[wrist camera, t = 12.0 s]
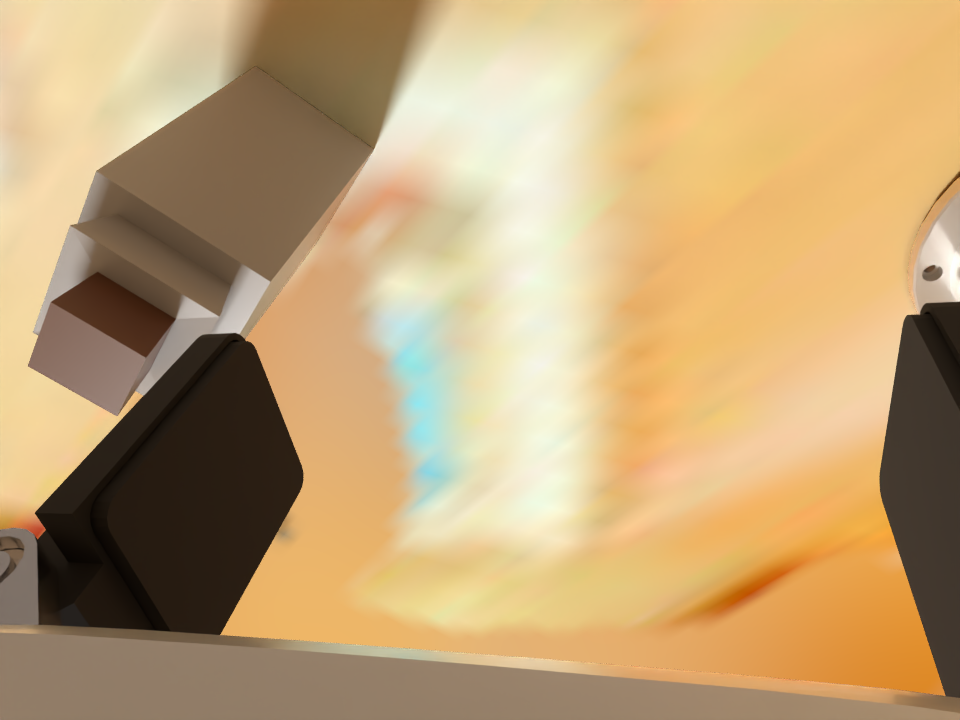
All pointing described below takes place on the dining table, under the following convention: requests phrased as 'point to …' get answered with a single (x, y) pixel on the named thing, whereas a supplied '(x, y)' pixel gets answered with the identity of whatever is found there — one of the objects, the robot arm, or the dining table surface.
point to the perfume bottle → (191, 236)
